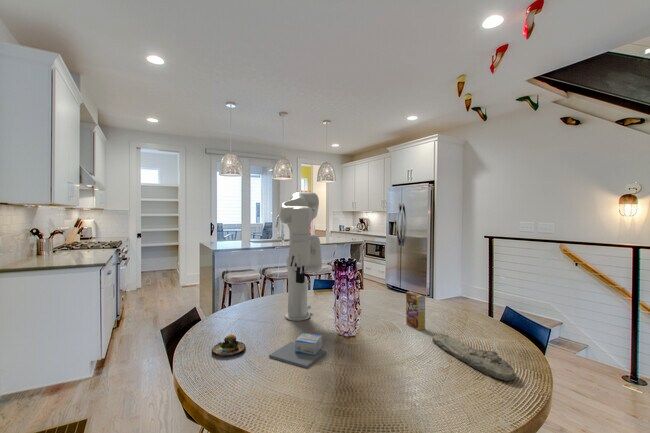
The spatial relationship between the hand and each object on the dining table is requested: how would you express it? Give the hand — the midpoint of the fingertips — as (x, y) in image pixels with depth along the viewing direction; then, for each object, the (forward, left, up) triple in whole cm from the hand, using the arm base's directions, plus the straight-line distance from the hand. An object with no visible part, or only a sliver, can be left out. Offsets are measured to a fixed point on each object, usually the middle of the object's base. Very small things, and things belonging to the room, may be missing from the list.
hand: (300, 282), depth 127 cm
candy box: (-39, +37, -24) cm, 59 cm away
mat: (+12, +7, -23) cm, 27 cm away
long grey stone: (-17, +61, -24) cm, 68 cm away
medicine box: (+3, +8, -20) cm, 22 cm away
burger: (+22, -17, -24) cm, 37 cm away
